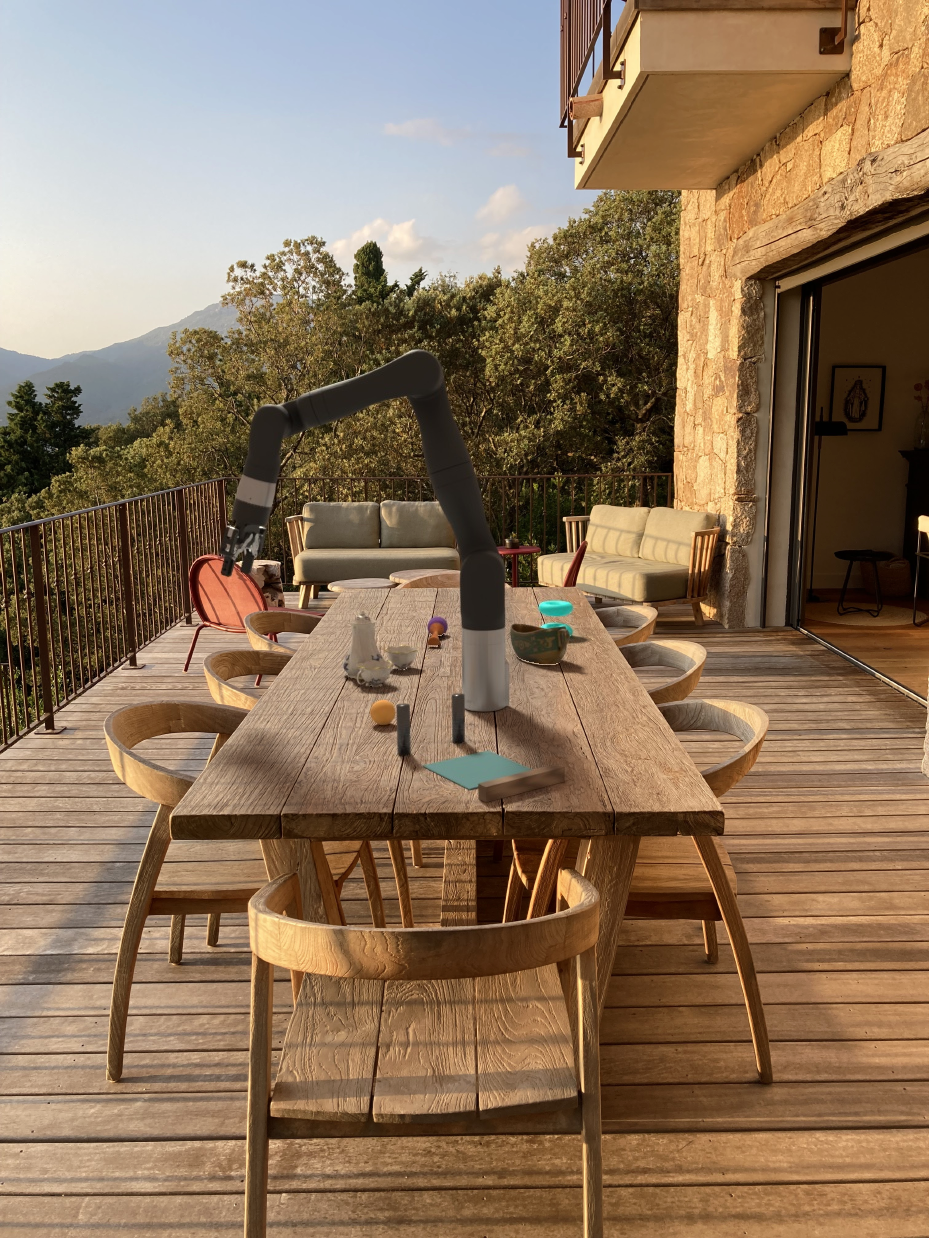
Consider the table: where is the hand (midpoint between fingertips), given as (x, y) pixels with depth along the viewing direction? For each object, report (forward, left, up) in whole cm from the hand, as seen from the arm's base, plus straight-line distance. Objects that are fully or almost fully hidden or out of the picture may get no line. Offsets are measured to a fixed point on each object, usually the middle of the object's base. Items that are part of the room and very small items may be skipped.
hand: (235, 574), depth 198 cm
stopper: (-17, +76, -28) cm, 83 cm away
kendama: (-71, -33, -29) cm, 84 cm away
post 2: (-23, +49, -28) cm, 61 cm away
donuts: (-102, -17, -29) cm, 108 cm away
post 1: (-11, +49, -28) cm, 58 cm away
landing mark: (-17, +64, -28) cm, 72 cm away
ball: (-17, +31, -26) cm, 44 cm away
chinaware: (-36, -6, -29) cm, 47 cm away
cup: (-78, +5, -29) cm, 84 cm away
